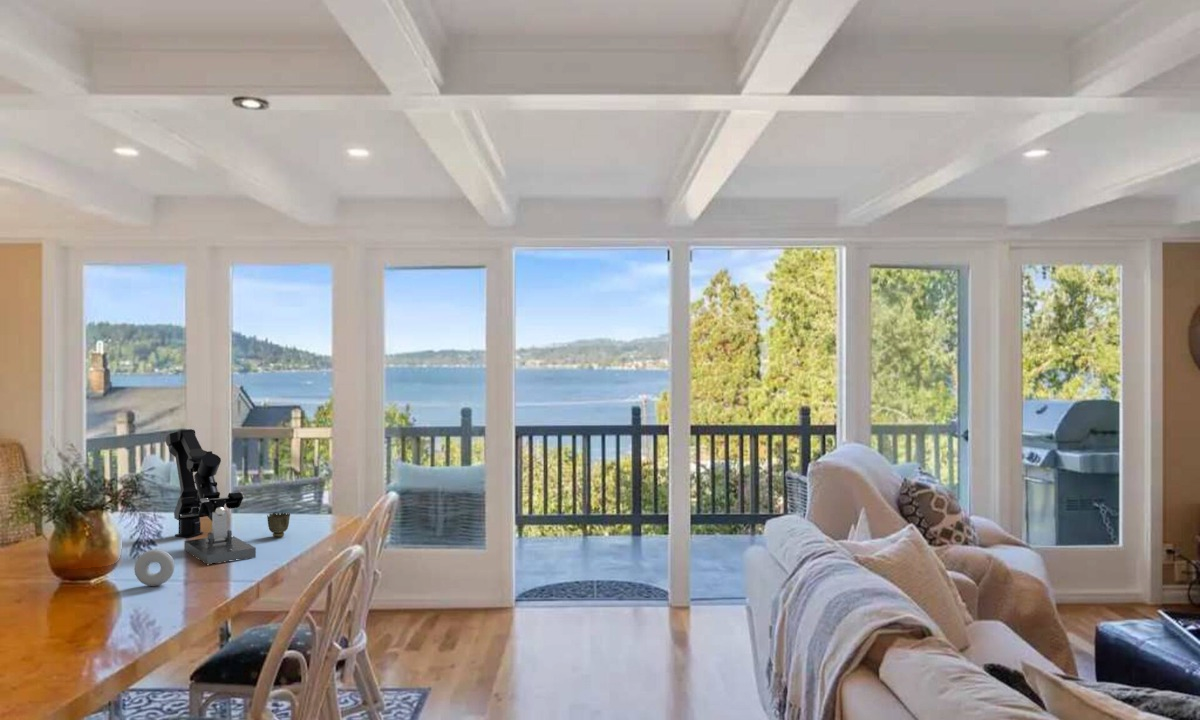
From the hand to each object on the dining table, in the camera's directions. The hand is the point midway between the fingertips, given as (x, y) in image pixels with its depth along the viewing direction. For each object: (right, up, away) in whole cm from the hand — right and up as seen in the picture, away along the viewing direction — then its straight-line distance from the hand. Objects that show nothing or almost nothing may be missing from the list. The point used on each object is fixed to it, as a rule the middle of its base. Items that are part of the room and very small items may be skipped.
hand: (216, 523), depth 243 cm
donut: (+2, -9, -37) cm, 38 cm away
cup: (+11, -9, +21) cm, 25 cm away
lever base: (+2, -9, -3) cm, 10 cm away
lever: (+2, -4, -3) cm, 6 cm away
